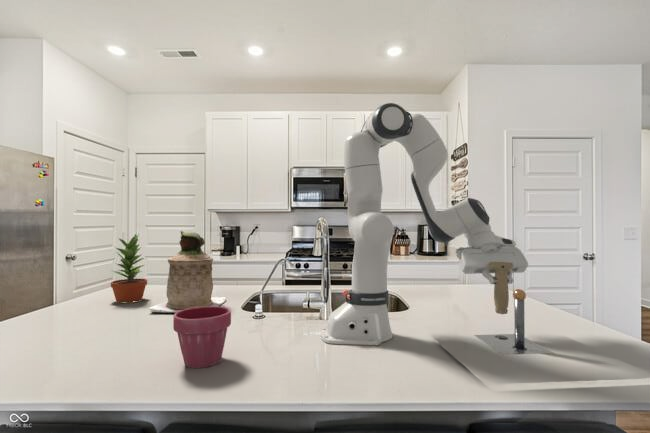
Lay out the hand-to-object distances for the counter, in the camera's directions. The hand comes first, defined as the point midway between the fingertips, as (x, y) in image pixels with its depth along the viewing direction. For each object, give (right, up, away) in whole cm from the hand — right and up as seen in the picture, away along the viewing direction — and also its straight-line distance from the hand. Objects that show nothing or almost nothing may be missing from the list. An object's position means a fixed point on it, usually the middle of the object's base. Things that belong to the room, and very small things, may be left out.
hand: (502, 282), depth 109 cm
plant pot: (-84, -18, -14) cm, 87 cm away
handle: (0, -9, +1) cm, 9 cm away
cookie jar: (-109, -18, +45) cm, 119 cm away
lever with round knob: (+1, -16, -8) cm, 18 cm away
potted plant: (-141, -18, +56) cm, 153 cm away
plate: (0, -18, -5) cm, 18 cm away
